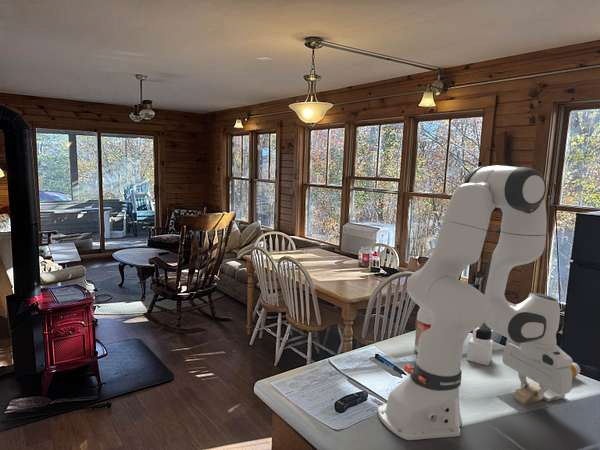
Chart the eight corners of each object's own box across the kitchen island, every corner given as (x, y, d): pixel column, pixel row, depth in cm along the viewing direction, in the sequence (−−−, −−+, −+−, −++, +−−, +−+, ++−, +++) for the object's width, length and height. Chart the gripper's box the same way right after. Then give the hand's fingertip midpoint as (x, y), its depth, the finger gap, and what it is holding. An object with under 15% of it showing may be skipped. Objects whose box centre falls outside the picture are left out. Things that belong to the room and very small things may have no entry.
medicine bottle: (491, 358, 150) (495, 327, 148) (488, 366, 144) (492, 333, 142) (470, 353, 154) (473, 322, 152) (466, 360, 148) (470, 328, 146)
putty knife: (528, 407, 118) (529, 397, 118) (510, 396, 124) (511, 387, 123) (564, 397, 123) (565, 387, 123) (546, 386, 129) (547, 378, 128)
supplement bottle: (567, 380, 131) (585, 375, 136) (559, 363, 134) (577, 358, 138) (553, 383, 136) (571, 378, 140) (545, 367, 138) (563, 362, 142)
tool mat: (521, 415, 115) (521, 413, 115) (495, 398, 123) (495, 396, 123) (570, 403, 122) (571, 401, 122) (543, 387, 131) (543, 385, 131)
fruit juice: (426, 344, 160) (432, 273, 156) (446, 353, 152) (453, 279, 148) (408, 348, 155) (415, 276, 151) (428, 359, 147) (435, 282, 143)
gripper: (500, 335, 129) (495, 377, 131) (562, 365, 110) (555, 413, 112) (515, 333, 131) (510, 374, 133) (578, 362, 112) (571, 409, 114)
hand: (531, 392), depth 122 cm, fingers open, 3 cm apart
